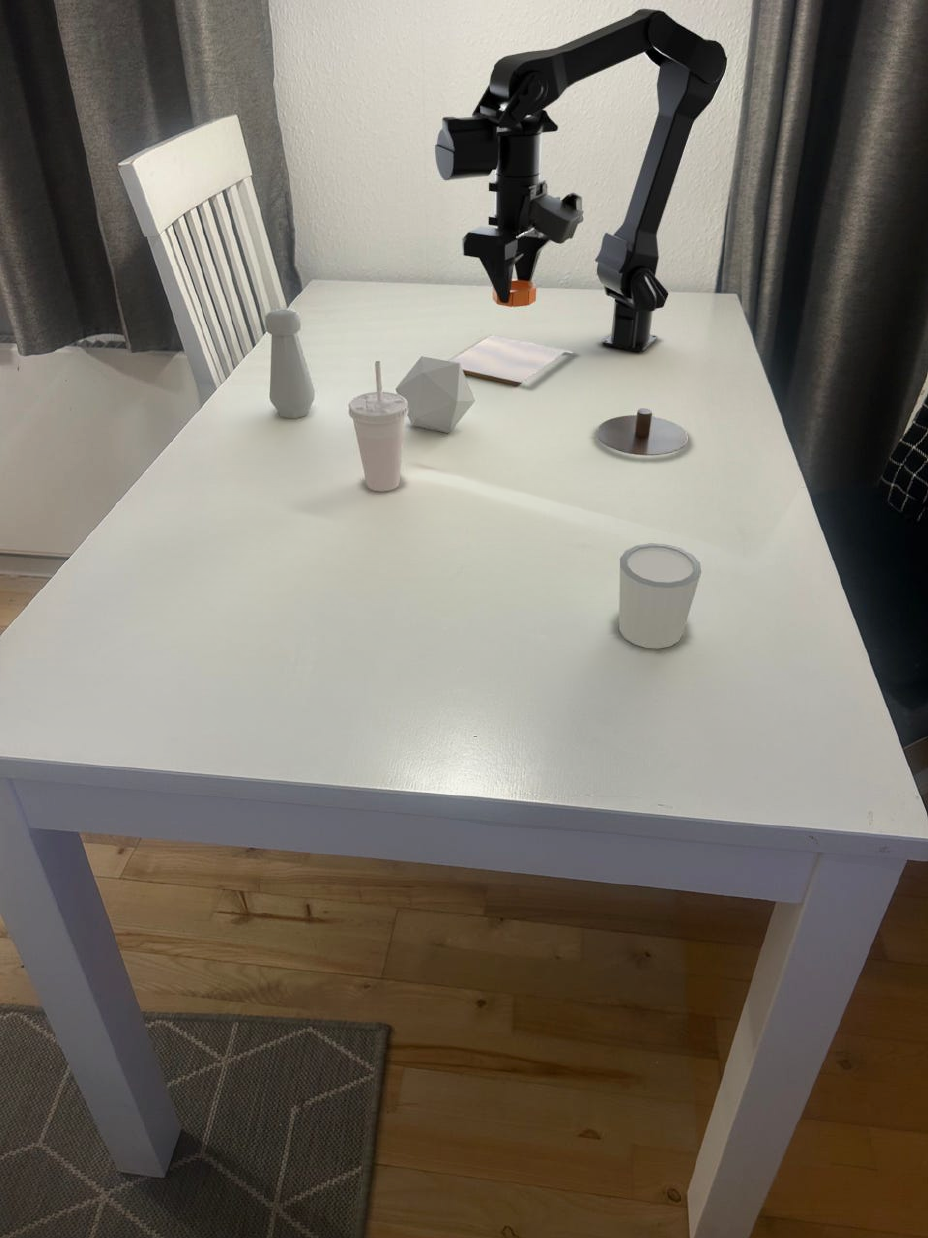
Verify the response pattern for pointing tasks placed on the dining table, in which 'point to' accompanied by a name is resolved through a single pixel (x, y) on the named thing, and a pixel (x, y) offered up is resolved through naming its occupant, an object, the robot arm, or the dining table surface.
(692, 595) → the shot glass
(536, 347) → the trivet
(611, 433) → the ring post
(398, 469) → the smoothie
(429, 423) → the die
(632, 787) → the dining table surface
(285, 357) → the salt shaker
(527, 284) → the ring
